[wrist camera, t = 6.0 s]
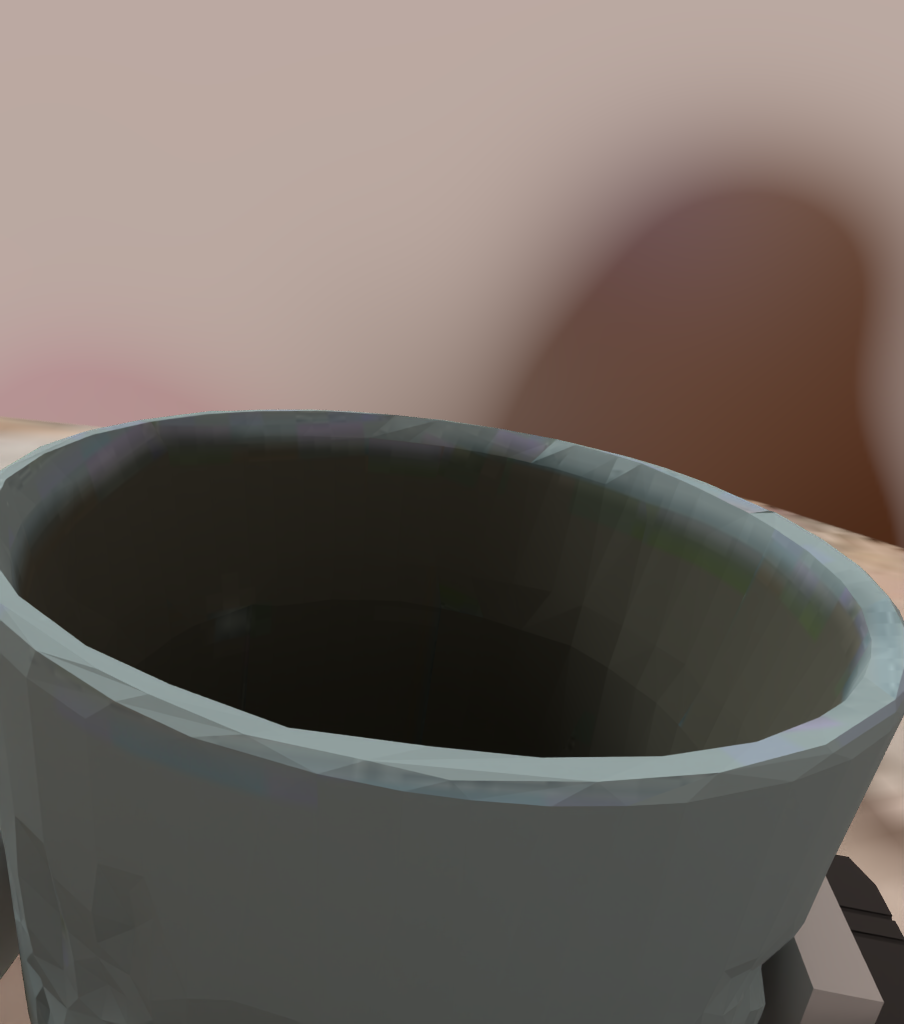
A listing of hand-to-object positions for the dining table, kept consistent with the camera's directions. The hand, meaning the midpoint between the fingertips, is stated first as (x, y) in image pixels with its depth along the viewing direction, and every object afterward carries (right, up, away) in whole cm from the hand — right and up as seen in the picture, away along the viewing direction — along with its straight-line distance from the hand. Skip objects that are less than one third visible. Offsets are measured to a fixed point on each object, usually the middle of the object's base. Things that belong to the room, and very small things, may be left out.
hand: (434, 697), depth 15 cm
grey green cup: (-2, -8, -2) cm, 8 cm away
